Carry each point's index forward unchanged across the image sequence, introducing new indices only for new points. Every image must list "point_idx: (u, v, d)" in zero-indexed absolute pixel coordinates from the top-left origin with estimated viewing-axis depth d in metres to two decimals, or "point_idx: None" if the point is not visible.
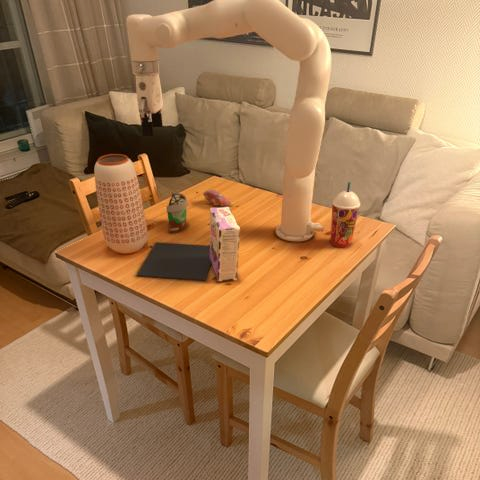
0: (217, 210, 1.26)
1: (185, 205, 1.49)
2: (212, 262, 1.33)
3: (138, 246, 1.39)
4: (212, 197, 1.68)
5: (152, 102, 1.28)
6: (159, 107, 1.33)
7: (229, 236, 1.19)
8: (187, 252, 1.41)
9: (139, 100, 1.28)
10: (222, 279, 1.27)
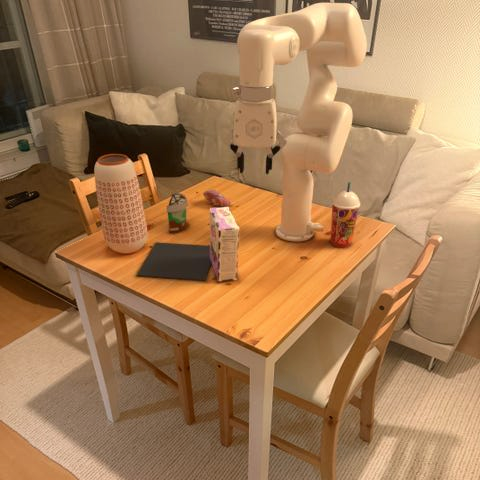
0: (216, 210, 1.26)
1: (185, 205, 1.49)
2: (212, 262, 1.33)
3: (138, 246, 1.39)
4: (212, 197, 1.68)
5: (234, 132, 1.07)
6: (253, 143, 1.08)
7: (229, 236, 1.19)
8: (187, 252, 1.41)
9: None
10: (222, 279, 1.27)
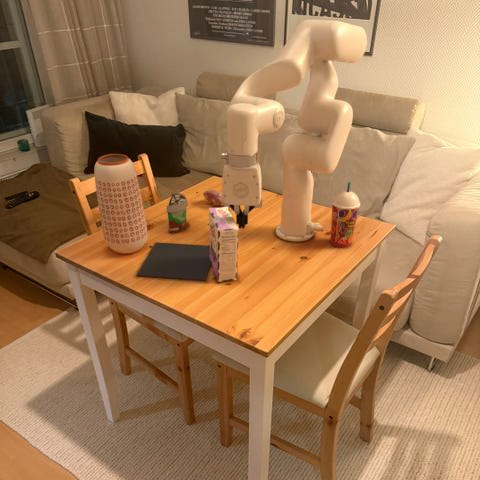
0: (215, 210, 1.26)
1: (185, 205, 1.49)
2: (212, 262, 1.33)
3: (138, 246, 1.39)
4: (212, 197, 1.68)
5: (222, 192, 1.16)
6: (240, 202, 1.17)
7: (228, 236, 1.19)
8: (187, 252, 1.41)
9: None
10: (222, 279, 1.27)
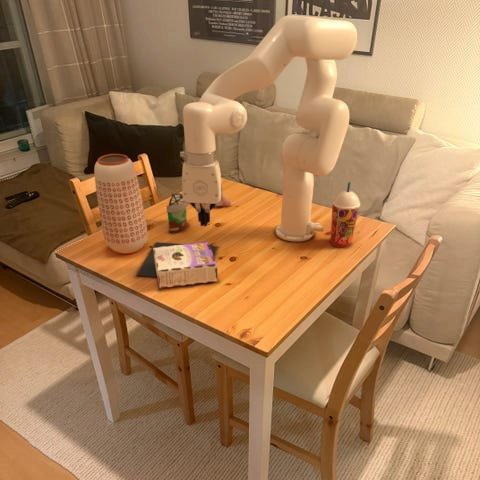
0: None
1: (185, 205, 1.49)
2: None
3: (138, 246, 1.39)
4: None
5: (182, 190, 1.17)
6: (200, 200, 1.18)
7: (166, 278, 1.23)
8: None
9: None
10: (215, 278, 1.26)
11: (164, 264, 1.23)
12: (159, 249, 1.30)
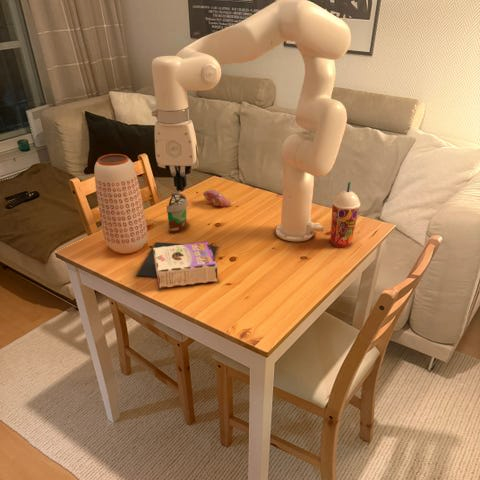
0: None
1: (185, 205, 1.49)
2: None
3: (138, 246, 1.39)
4: (212, 197, 1.68)
5: (155, 152, 1.13)
6: (174, 162, 1.13)
7: (166, 278, 1.23)
8: None
9: None
10: (215, 278, 1.26)
11: (164, 264, 1.23)
12: (159, 249, 1.30)
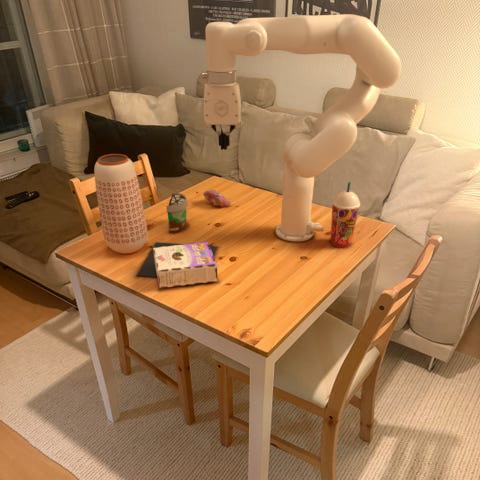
0: None
1: (185, 205, 1.49)
2: None
3: (138, 246, 1.39)
4: (212, 197, 1.68)
5: (204, 112, 1.24)
6: (221, 121, 1.24)
7: (166, 278, 1.23)
8: None
9: None
10: (215, 278, 1.26)
11: (164, 264, 1.23)
12: (159, 249, 1.30)
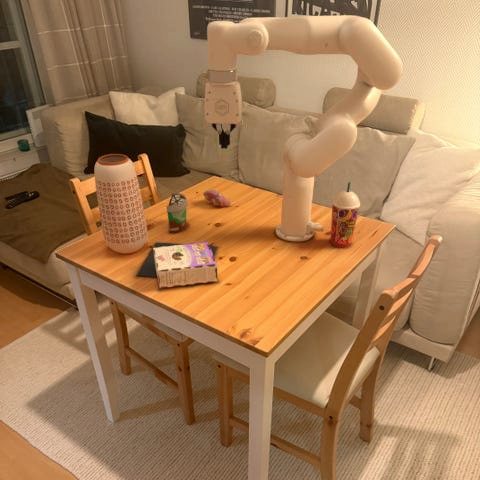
0: None
1: (185, 205, 1.49)
2: None
3: (138, 246, 1.39)
4: (212, 197, 1.68)
5: (205, 110, 1.24)
6: (222, 120, 1.24)
7: (166, 278, 1.23)
8: None
9: None
10: (215, 278, 1.26)
11: (164, 264, 1.23)
12: (159, 249, 1.30)
